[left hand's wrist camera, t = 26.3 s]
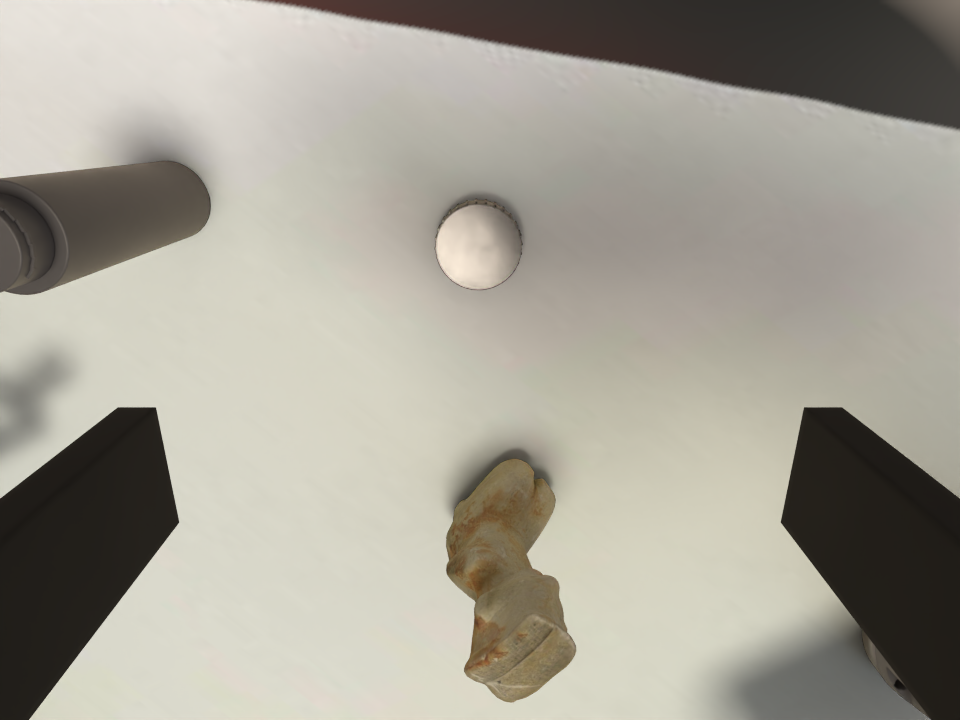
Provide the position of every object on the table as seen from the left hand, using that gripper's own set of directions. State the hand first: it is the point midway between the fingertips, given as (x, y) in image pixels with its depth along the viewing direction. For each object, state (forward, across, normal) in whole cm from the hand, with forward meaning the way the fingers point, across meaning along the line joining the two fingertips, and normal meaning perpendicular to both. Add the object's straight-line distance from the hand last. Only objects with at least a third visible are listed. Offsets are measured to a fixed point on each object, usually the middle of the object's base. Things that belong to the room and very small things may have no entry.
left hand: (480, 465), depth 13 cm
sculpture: (+25, -1, +17) cm, 31 cm away
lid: (+24, 0, 0) cm, 24 cm away
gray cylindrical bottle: (+25, +18, -3) cm, 31 cm away
